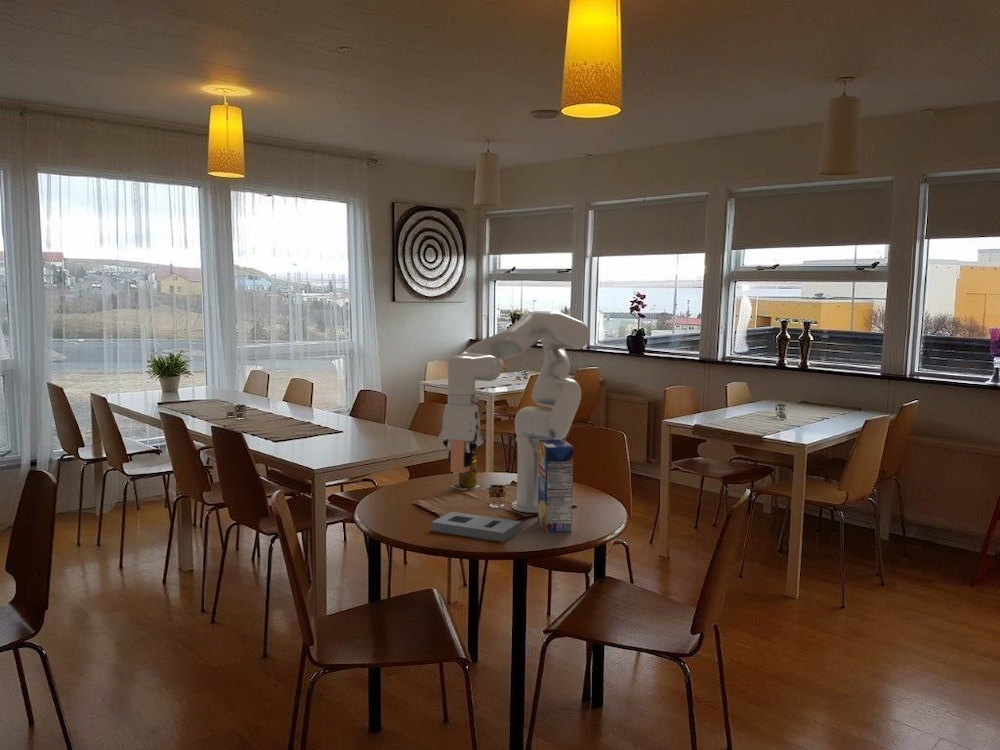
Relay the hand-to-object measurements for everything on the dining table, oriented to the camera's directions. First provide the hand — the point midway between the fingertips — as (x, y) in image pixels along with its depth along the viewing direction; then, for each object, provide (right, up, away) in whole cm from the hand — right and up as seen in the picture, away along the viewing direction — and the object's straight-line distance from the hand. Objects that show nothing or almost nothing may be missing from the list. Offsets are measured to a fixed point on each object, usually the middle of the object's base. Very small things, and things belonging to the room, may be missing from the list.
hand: (460, 464), depth 213 cm
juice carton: (+27, -18, +5) cm, 33 cm away
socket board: (+4, -18, 0) cm, 19 cm away
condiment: (-1, -14, +50) cm, 52 cm away
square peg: (0, -2, 0) cm, 2 cm away
